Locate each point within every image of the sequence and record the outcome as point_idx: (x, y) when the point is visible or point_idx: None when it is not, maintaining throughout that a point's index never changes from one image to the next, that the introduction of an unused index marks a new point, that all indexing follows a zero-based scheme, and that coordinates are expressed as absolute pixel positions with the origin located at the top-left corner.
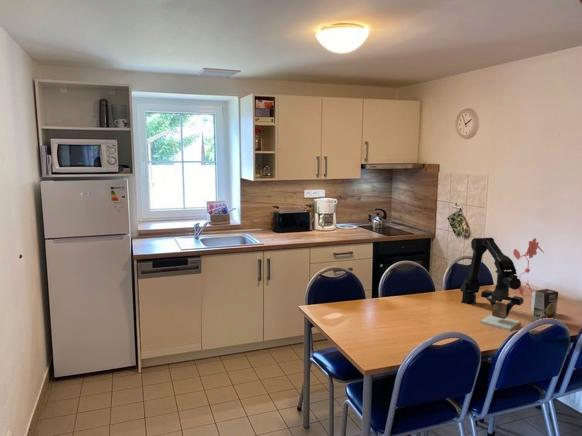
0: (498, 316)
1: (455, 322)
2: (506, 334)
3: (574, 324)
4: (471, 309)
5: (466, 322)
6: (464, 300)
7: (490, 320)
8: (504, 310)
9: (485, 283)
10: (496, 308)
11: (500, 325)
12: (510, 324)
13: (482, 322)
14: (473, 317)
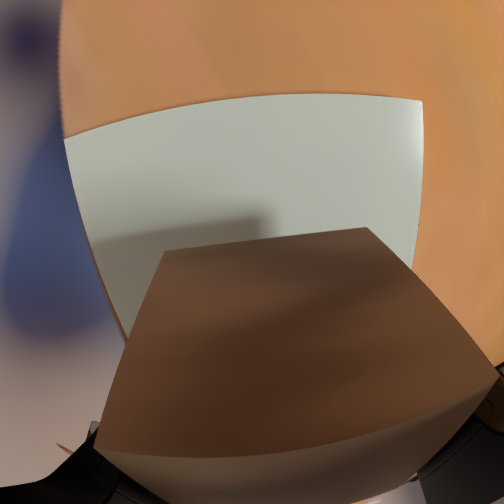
0: (265, 246)
1: (497, 7)
2: (60, 27)
3: (71, 454)
4: (483, 334)
5: (472, 43)
6: (500, 376)
7: (352, 200)
8: (133, 365)
9: (415, 478)
10: (368, 341)
11: (176, 127)
12: (130, 266)
13: (394, 99)
14: (478, 211)
